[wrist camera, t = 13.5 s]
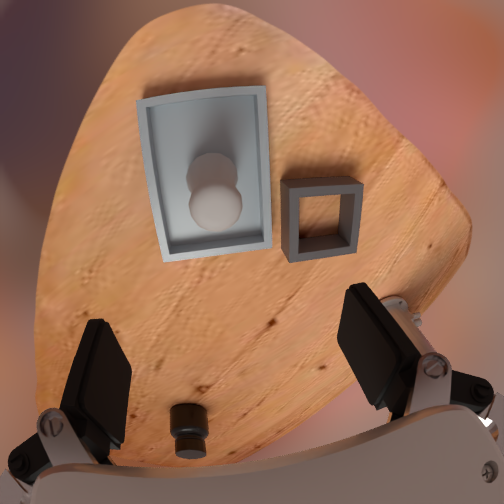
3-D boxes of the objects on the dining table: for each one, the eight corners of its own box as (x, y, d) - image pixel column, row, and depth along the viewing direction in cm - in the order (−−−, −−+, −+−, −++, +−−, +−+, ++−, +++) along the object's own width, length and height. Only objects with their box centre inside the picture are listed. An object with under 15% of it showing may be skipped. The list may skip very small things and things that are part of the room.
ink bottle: (176, 421, 59) (178, 461, 49) (162, 405, 55) (162, 450, 44) (212, 416, 60) (218, 457, 49) (201, 400, 55) (205, 446, 45)
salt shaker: (237, 151, 31) (259, 175, 20) (233, 197, 34) (250, 244, 23) (188, 149, 30) (179, 171, 19) (185, 195, 33) (178, 243, 22)
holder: (349, 176, 36) (363, 184, 33) (344, 240, 41) (356, 252, 37) (280, 180, 35) (289, 188, 31) (281, 248, 40) (289, 263, 36)
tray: (260, 87, 29) (265, 85, 26) (267, 237, 38) (272, 247, 36) (141, 101, 27) (136, 100, 24) (165, 251, 37) (163, 262, 34)
